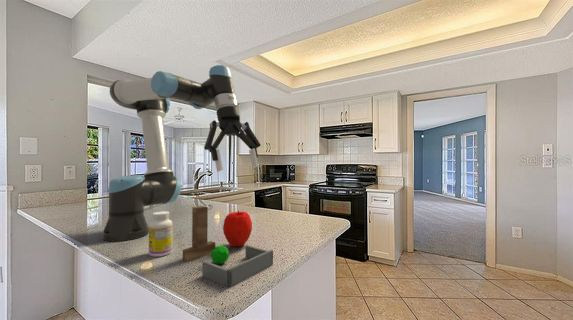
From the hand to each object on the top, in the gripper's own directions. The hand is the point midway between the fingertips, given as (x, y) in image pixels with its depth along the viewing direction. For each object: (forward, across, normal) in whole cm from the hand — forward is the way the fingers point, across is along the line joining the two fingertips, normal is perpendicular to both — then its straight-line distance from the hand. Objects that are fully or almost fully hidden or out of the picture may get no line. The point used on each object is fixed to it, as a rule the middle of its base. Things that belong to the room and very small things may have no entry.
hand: (238, 168), depth 84 cm
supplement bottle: (+21, -22, +19) cm, 36 cm away
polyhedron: (+27, -12, 0) cm, 29 cm away
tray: (+29, -10, -7) cm, 31 cm away
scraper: (+24, -14, +9) cm, 29 cm away
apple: (+25, 0, +10) cm, 27 cm away
